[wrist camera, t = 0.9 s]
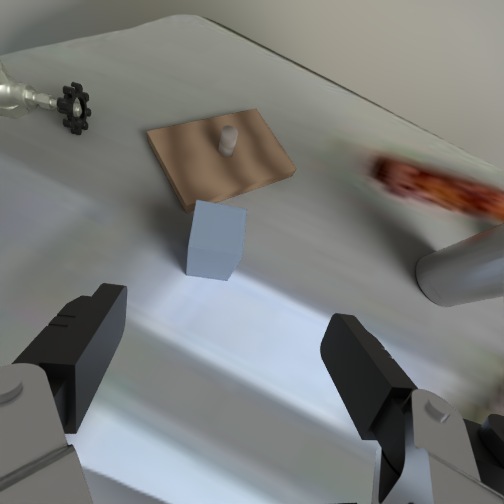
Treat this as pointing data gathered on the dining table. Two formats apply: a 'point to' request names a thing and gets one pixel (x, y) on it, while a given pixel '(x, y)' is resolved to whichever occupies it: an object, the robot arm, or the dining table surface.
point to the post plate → (219, 157)
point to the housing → (215, 240)
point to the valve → (43, 101)
